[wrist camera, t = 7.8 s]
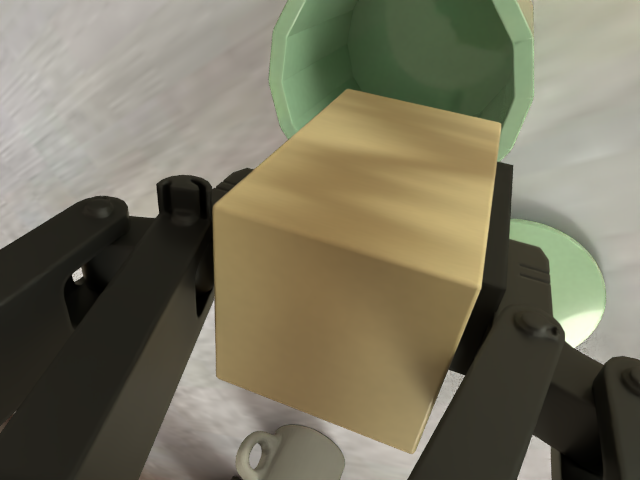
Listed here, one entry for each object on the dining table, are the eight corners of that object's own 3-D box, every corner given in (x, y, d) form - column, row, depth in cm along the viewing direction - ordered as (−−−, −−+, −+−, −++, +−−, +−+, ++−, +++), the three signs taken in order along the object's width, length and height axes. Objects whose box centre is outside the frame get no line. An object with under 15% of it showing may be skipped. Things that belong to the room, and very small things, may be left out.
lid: (648, 293, 35) (683, 400, 27) (510, 375, 44) (505, 475, 36) (503, 179, 35) (494, 253, 27) (391, 284, 43) (359, 364, 35)
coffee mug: (359, 474, 60) (333, 555, 52) (300, 478, 66) (269, 551, 58) (302, 400, 57) (265, 475, 49) (245, 410, 62) (203, 479, 54)
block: (502, 122, 14) (482, 286, 8) (457, 253, 17) (413, 457, 11) (346, 87, 15) (209, 204, 9) (328, 216, 18) (214, 378, 12)
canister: (581, 18, 28) (605, 58, 19) (442, 169, 36) (412, 248, 27) (413, -117, 28) (356, -141, 19) (309, 65, 35) (232, 110, 26)
